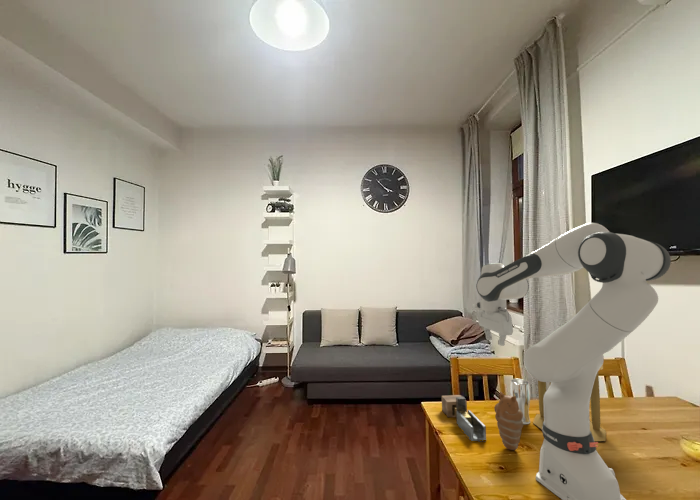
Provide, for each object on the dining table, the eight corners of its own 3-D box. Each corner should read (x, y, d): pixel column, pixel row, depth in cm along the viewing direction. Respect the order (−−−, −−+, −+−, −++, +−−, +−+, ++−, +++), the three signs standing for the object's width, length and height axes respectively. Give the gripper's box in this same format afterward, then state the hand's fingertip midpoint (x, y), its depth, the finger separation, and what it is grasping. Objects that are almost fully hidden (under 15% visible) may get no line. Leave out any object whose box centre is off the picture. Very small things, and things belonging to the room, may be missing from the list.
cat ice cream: (491, 448, 113) (490, 393, 114) (503, 440, 118) (501, 387, 119) (519, 459, 106) (517, 401, 107) (529, 450, 111) (527, 394, 112)
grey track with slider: (486, 441, 118) (485, 426, 118) (471, 441, 117) (471, 427, 118) (470, 423, 131) (469, 410, 131) (456, 424, 130) (456, 410, 131)
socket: (467, 416, 137) (466, 401, 137) (447, 417, 136) (447, 402, 136) (460, 409, 143) (460, 394, 144) (442, 410, 143) (441, 395, 143)
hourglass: (539, 438, 119) (537, 365, 120) (527, 411, 141) (524, 350, 142) (620, 448, 112) (616, 370, 113) (594, 418, 134) (591, 353, 135)
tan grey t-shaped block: (471, 425, 127) (471, 403, 127) (463, 425, 127) (463, 404, 127) (457, 409, 141) (456, 390, 141) (449, 409, 141) (449, 390, 141)
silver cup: (535, 425, 129) (533, 384, 129) (516, 425, 129) (514, 384, 130) (525, 416, 136) (524, 378, 136) (508, 416, 136) (506, 378, 136)
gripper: (517, 309, 120) (518, 348, 120) (489, 302, 141) (490, 336, 140) (499, 309, 120) (501, 349, 119) (474, 302, 140) (475, 336, 140)
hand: (494, 342), depth 130 cm, fingers open, 8 cm apart
